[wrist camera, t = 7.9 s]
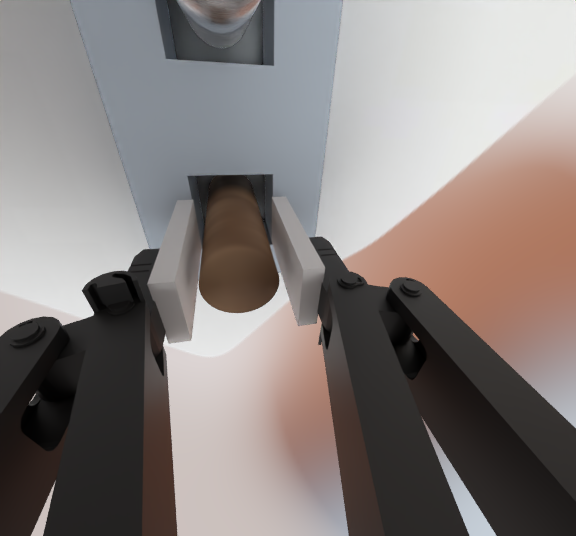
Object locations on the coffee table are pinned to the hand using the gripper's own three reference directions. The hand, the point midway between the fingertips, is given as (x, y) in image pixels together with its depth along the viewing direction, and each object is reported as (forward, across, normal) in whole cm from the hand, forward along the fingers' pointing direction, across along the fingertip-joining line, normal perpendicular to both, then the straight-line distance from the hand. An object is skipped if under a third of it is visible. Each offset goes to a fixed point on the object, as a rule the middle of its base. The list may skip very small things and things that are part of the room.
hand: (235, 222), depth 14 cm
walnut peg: (+5, 0, 0) cm, 5 cm away
